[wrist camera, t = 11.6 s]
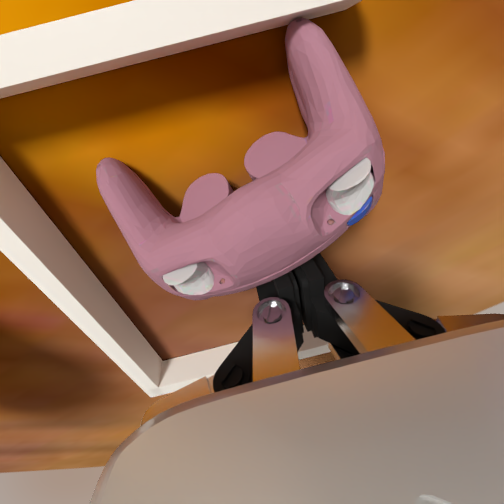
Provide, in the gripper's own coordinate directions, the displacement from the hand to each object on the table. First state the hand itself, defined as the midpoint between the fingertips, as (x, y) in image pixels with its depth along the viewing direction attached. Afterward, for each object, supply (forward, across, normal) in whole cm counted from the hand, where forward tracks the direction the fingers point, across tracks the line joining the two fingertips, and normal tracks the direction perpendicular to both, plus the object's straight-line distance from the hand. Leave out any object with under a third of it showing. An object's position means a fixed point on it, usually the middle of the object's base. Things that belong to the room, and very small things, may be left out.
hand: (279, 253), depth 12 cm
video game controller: (+2, +1, -4) cm, 5 cm away
